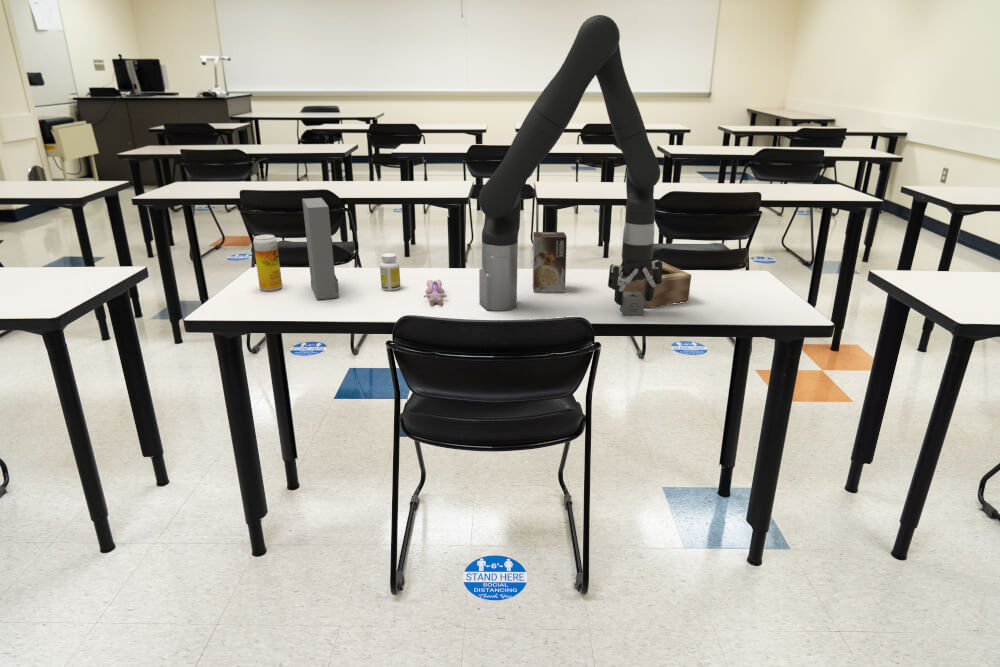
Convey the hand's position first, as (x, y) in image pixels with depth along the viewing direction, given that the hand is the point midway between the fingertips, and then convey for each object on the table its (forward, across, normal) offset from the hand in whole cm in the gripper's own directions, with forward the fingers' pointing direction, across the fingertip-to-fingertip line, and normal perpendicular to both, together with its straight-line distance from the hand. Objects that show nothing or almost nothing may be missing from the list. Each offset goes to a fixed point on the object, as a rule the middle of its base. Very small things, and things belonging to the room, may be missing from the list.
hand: (633, 302), depth 165 cm
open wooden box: (+3, +12, +9) cm, 15 cm away
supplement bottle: (+2, -54, +41) cm, 68 cm away
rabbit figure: (+3, -45, +29) cm, 53 cm away
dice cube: (+3, 0, 0) cm, 3 cm away
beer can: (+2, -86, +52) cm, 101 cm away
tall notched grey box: (+2, -72, +44) cm, 85 cm away
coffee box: (+3, -12, +25) cm, 28 cm away
